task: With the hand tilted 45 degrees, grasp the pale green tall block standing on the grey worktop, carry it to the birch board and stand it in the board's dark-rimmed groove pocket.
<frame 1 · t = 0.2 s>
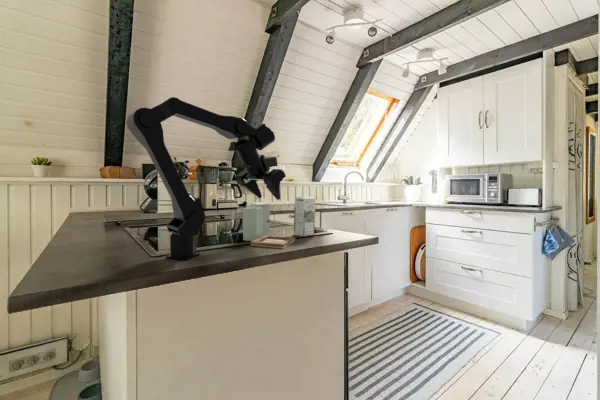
hand: (269, 198, 100), 15 cm above the countertop, tool tilted 35°, fingers open, 9 cm apart
syrup box: (304, 235, 113), on the countertop
groove board: (273, 243, 98), on the countertop
pale green tall block: (253, 239, 104), on the countertop
skincare box: (260, 236, 111), on the countertop
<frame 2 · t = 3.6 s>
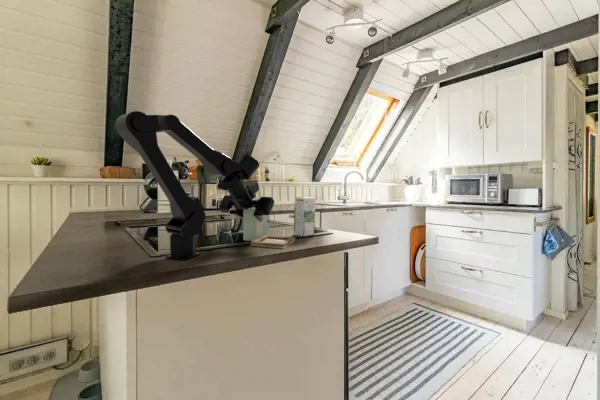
hand: (255, 220, 105), 7 cm above the countertop, tool tilted 45°, fingers closed on pale green tall block, 5 cm apart
pale green tall block: (253, 239, 104), on the countertop, touching gripper
everything else where it was.
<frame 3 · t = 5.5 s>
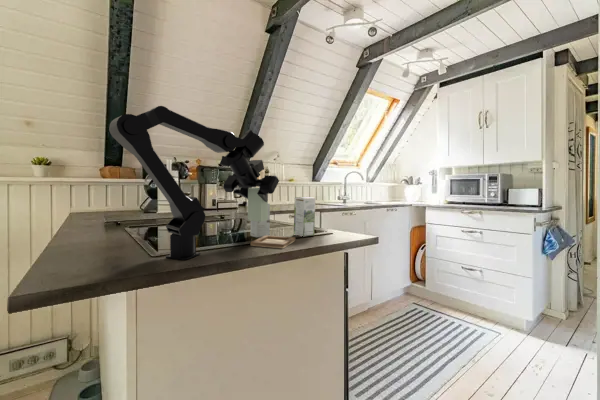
hand: (260, 200, 103), 14 cm above the countertop, tool tilted 45°, fingers closed on pale green tall block, 5 cm apart
pale green tall block: (257, 220, 102), point 7 cm above the countertop, touching gripper
everything else where it was.
when the fingers open (8 cm above the countertop, at t = 7.3 s): pale green tall block drops 1 cm, resting on groove board.
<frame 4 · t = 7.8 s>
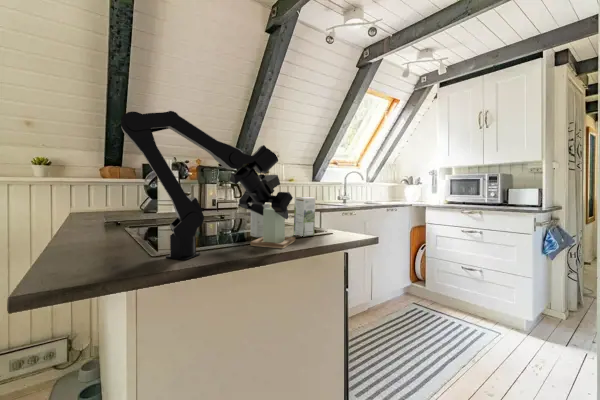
hand: (276, 217, 99), 9 cm above the countertop, tool tilted 45°, fingers open, 9 cm apart
pale green tall block: (273, 241, 98), resting on groove board
everything else where it was.
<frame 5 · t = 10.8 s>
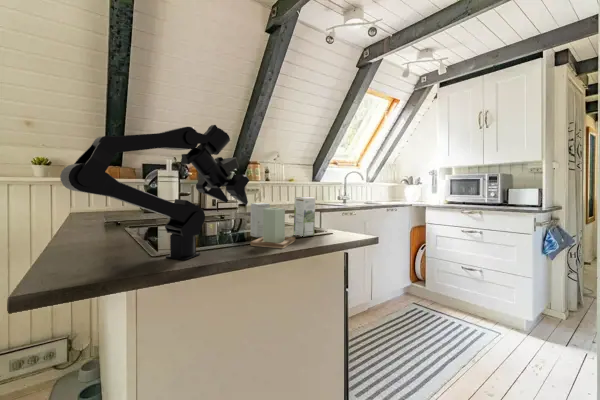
hand: (236, 202, 94), 14 cm above the countertop, tool tilted 45°, fingers open, 9 cm apart
nothing on the countertop moved.
at the end: pale green tall block inside the target area on the groove board (0.0 cm from its centre), point 0.4 cm above the groove board's base; pale green tall block tilted 0°; the gripper is holding nothing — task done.
